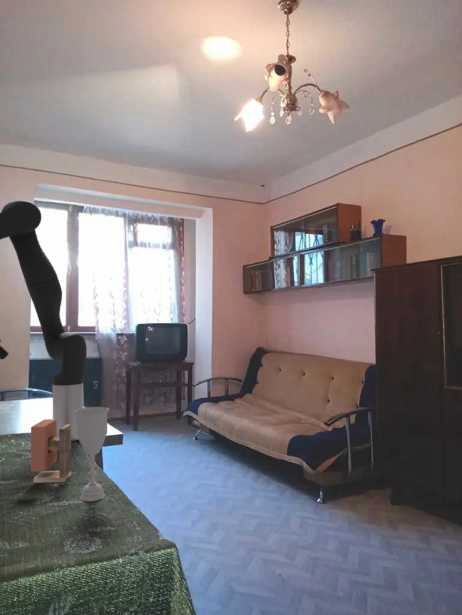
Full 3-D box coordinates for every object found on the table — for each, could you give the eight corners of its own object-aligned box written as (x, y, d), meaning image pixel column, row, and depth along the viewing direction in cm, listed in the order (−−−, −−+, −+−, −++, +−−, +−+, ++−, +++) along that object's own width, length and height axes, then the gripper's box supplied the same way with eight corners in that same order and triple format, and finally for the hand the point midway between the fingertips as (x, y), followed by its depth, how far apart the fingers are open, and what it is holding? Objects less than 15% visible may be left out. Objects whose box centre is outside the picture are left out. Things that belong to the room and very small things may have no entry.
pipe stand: (41, 475, 111) (41, 425, 111) (71, 474, 111) (70, 424, 111) (33, 482, 106) (33, 430, 106) (64, 481, 106) (63, 429, 106)
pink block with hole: (44, 460, 112) (44, 419, 112) (56, 460, 112) (56, 419, 112) (31, 471, 104) (30, 427, 104) (44, 471, 104) (44, 426, 105)
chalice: (116, 492, 99) (116, 407, 99) (97, 504, 92) (97, 414, 93) (88, 489, 101) (87, 406, 101) (67, 500, 94) (66, 412, 95)
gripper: (-54, 298, 110) (-2, 348, 110) (-23, 301, 124) (23, 345, 124) (-76, 321, 109) (-24, 371, 109) (-43, 321, 123) (3, 365, 123)
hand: (1, 357), depth 116 cm, fingers open, 4 cm apart
